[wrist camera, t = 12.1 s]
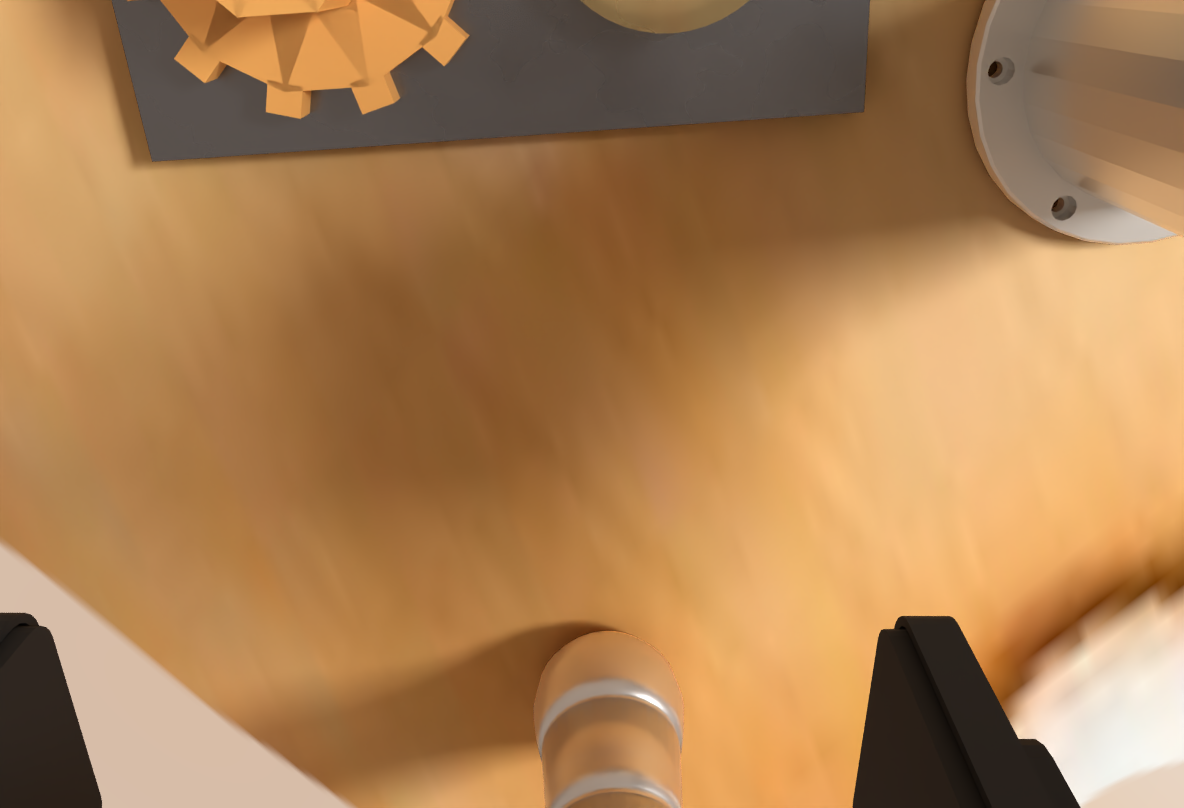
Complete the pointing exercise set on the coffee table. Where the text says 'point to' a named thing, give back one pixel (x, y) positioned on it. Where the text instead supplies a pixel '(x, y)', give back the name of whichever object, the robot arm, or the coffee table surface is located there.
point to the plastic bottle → (609, 725)
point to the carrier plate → (526, 75)
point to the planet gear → (314, 44)
